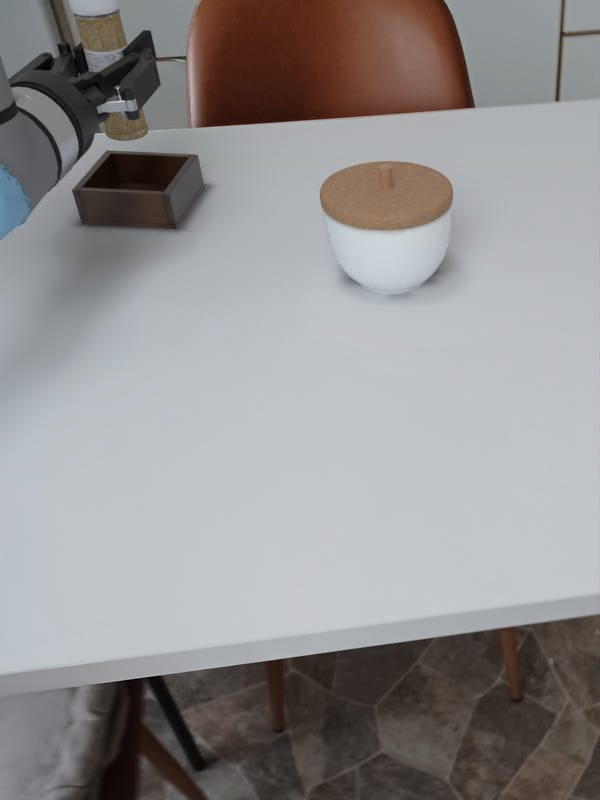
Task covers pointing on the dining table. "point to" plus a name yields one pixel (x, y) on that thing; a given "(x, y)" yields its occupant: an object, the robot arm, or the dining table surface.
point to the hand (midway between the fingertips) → (127, 44)
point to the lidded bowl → (388, 223)
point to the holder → (139, 189)
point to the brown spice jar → (106, 55)
